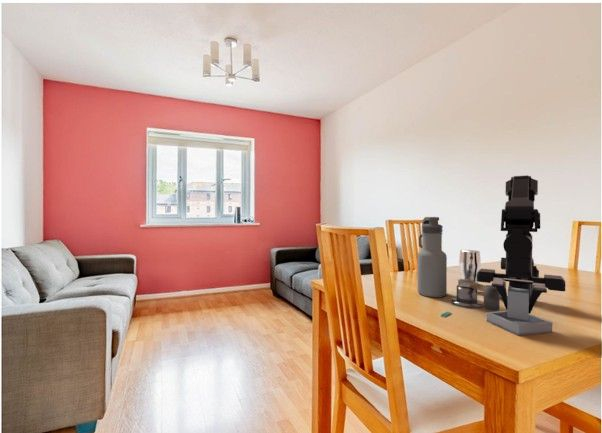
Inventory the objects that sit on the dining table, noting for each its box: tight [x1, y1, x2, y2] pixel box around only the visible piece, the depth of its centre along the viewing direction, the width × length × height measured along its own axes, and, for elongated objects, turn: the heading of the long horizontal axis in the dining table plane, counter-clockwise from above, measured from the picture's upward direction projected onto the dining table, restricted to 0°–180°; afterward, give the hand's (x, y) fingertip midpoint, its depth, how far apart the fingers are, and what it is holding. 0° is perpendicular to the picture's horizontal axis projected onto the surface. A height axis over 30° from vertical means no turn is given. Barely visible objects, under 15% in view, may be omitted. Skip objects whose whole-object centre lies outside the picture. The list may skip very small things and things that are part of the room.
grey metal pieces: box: [440, 284, 484, 318], centre depth 100 cm, size 20×14×6 cm
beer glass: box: [458, 249, 481, 294], centre depth 118 cm, size 7×7×15 cm
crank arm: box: [457, 278, 501, 312], centre depth 98 cm, size 14×5×6 cm, turn 13°
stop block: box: [506, 286, 529, 321], centre depth 83 cm, size 4×4×7 cm
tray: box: [486, 310, 553, 337], centre depth 83 cm, size 10×10×2 cm
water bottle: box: [416, 216, 448, 298], centre depth 115 cm, size 10×10×28 cm
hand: (518, 311), depth 83 cm, fingers closed on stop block, 4 cm apart
